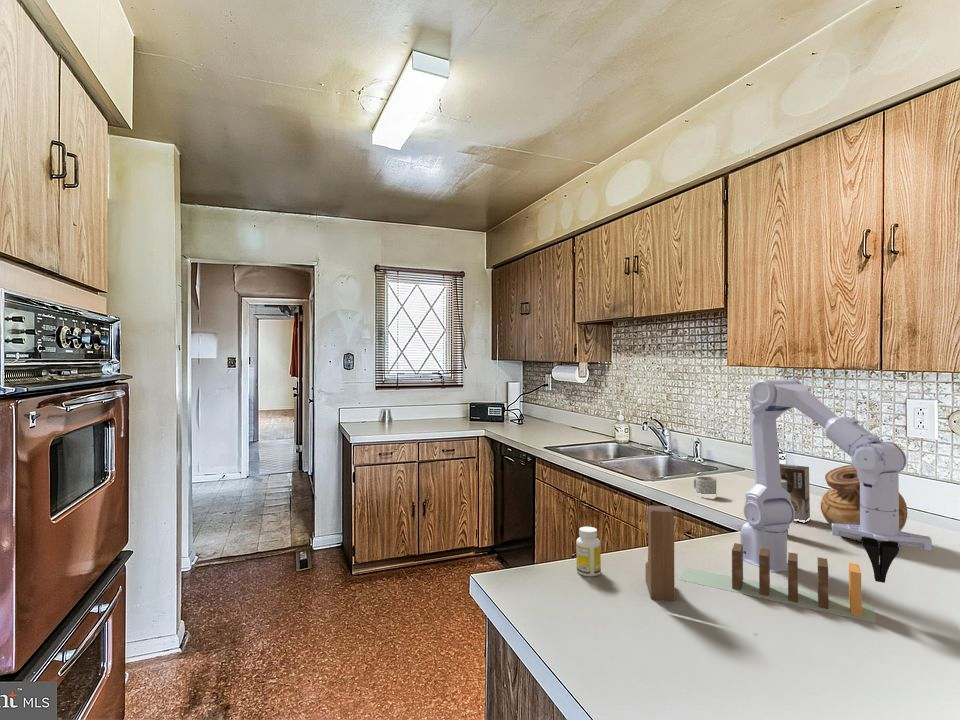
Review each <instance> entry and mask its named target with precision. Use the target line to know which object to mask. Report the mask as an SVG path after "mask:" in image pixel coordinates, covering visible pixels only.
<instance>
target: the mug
mask: <svg viewBox="0 0 960 720" xmlns="http://www.w3.org/2000/svg"><path fill="white" fill-rule="evenodd" d="M692 482H693V483H692V485H693V489H694V488H695V489H696V491H695V493H696V492H697V493H701V494H716V495H717V478H716V477H711V476H703V475H702V476H700V475H699V476H696V477H694V478H693V481H692Z"/></svg>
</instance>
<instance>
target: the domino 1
mask: <svg viewBox="0 0 960 720" xmlns="http://www.w3.org/2000/svg"><path fill="white" fill-rule="evenodd" d="M731 577H732V589H737V590H741V587H742V584H743V579H744V561H743V544H740V543H737V542H734V544H733V546H732V548H731Z"/></svg>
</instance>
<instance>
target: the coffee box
mask: <svg viewBox="0 0 960 720" xmlns="http://www.w3.org/2000/svg"><path fill="white" fill-rule="evenodd" d="M779 464H780V476H781V480H786V481H787V492H788V493H789V494H790V497H791V502H792V505H793V507H794V509H795V519H799V520H805V521H806V520H807V519H808V518H809V517H810V518H811V505H810V503H811V502H810V499H811V498H810V467H809V466H805V465H803V466H802V465H795V464H785V463H779Z"/></svg>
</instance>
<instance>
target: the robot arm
mask: <svg viewBox="0 0 960 720" xmlns="http://www.w3.org/2000/svg"><path fill="white" fill-rule="evenodd" d="M809 389H810V388H809V386H807V385H805V384H804V383H802V382H801V381H800V380H799V379H796V378H788V379H768V378H767V379H766V378H761V379H757V380H756V382H754V383H753V384H752V385H751V386H750V388H749V400H750V403H749V404H750V406H749V407H750V408H749V423H750V424H749V425H750V438H751V439H750V440H751V451H752V452H751V453H752V462H753V476H754V477H753V479H754V485H753V486H752V487H751V488H750V489H748V491H747V492H746V493H745V502H744V506H743V514H744V515H743V516H744V518H745V520H746V522H745V523H744V524H743V525H742V527H741V530H740V543H739V544H743V562H746V563H749V564H751V565H754V566H755V567H758V568H759V553H760V549H761V548H767V549H770V573H778V572H784V571H788V536H787V529H788V530H789V529H790V525H791V524H793V523H794V522H795V521H794V519H795V509H794V507H793V505H792V502H791V497H790V494H789V493H788V492H787V491H786V490H785V489H784V488H783V487H782V486H781V476H780V464H781V463H780V455H779V453H780V452H779V441H778V440H779V439H778V429H777V427H778V426H777V419H778V418H779V417H780V416H781V415H782V414H784V412H787V411H789V410H791V409H793V408H795V409H796V410H798V411H799V412H801V413H802V414H804V415H805V416H807V417H808V418H809V419H811V420H812V421H814V422H815V423H817V424H818V425H819V426H821V427H822V428H824V431H825V432H824V433H825V437H826V438H827V439H828V440H830V442H832V443H833V444H834V445H835V446H837V447H838V448H839V449H840V450H842V451H843V452H844V453H846V454H847V455H848V456H849V457H850V460H851V463H852V465H854V467H855V468H856V470H857V473H858V479H859V481H860V525H847V524H835V523H832V527H831V535H832V536H834V537H840V536H841V537H844V536H846V537H845V538H847V537H853V538H859V539H861V541H860V542H861V544H862V546H863V548H864V550H865V552H866V554H867V557H868V558H869V561H870V562H871V565H872V566H871V567H872V570H873V577H874V581H875V582H877V583H884V584H886V579H887V575H888V571H889V569H890V566H891V565H892V563H893V561H894V560H895V558H896V557H897V556H898V554H899V552H900V547H899V546H906V547H914V548H922V549H924V550H926V551H927V550H928V551H932V550H933V549H932V546H933V544H932V542H933V539H932V538H931V537H930V536H927V535H922V534H917V533H911V532H906V531H902V530H901V531H899V493H900V491H899V489H900V488H899V487H900V486H899V485H900V484H899V483H900V482H899V480H900V479H899V472H902V471H903V470H904V469H905V467H906V465H907V455H906V453H905V452H904V450H903V449H902V448H901V447H900V446H899V445H898V444H897V443H895V442H894V441H893V442H891V441H883V440H881V438H880V437H879V436H878V435H877V434H873V433H871V432H870V431H869V430H868V429H866V428H864V427H863V426H862V425H861V424H860V421H859V420H858V419H856V418H855V417H849V416H839V415H837V414H836V413H835V412H834V411H832V409H830V408H829V407H828V406H826V405H825V404H824V403H823V402H822V401H821V400H820V399H819V398H817V397H816V396H815V395H814V394H813V393H811V392H810V391H809Z"/></svg>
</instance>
